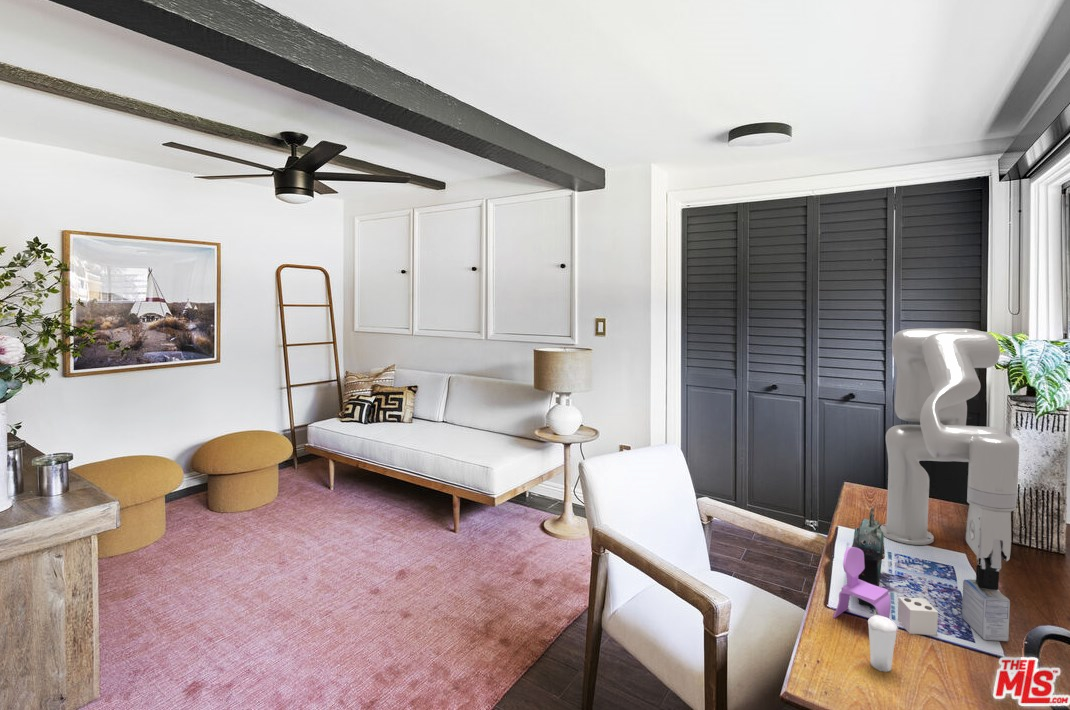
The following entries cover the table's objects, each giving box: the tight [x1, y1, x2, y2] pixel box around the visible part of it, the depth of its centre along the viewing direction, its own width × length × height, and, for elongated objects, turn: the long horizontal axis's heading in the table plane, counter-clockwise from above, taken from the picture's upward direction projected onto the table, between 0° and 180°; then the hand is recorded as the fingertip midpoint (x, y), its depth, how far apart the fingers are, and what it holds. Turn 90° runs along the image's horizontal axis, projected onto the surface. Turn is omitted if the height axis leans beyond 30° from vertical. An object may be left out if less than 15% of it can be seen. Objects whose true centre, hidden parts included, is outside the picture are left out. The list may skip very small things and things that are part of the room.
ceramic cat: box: [851, 507, 886, 609], centre depth 128 cm, size 20×6×20 cm, turn 148°
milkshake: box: [867, 614, 902, 673], centre depth 101 cm, size 5×5×10 cm
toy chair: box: [832, 546, 892, 619], centre depth 115 cm, size 8×9×15 cm
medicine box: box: [961, 579, 1011, 642], centre depth 112 cm, size 8×4×9 cm, turn 168°
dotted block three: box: [897, 596, 939, 636], centre depth 113 cm, size 5×5×5 cm
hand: (986, 586), depth 111 cm, fingers closed
